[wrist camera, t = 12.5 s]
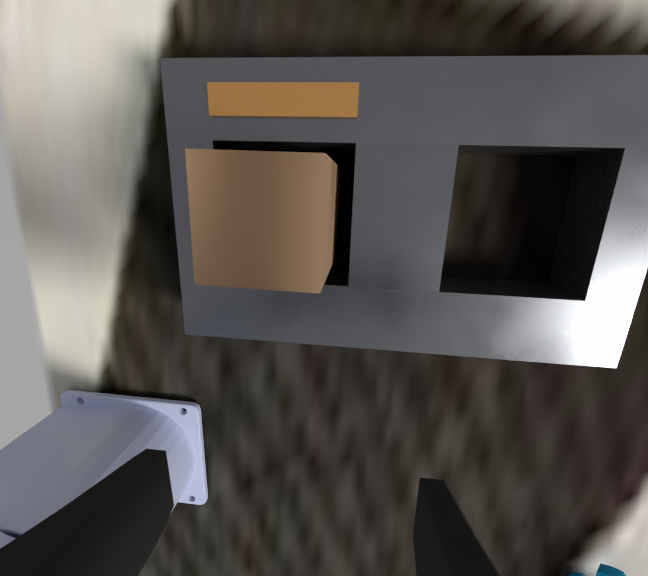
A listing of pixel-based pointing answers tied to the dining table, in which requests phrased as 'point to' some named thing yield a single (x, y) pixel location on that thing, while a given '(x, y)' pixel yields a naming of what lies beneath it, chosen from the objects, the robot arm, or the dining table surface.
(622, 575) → the gear
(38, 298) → the dining table surface
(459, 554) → the robot arm
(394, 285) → the rail block
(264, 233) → the walnut block
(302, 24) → the dining table surface
